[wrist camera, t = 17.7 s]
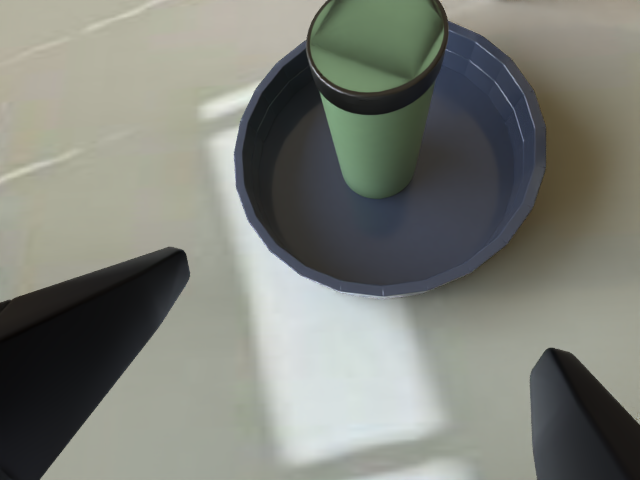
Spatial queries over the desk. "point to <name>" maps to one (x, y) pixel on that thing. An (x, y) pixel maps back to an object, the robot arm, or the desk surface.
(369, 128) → the tea tin
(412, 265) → the pan
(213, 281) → the desk surface
